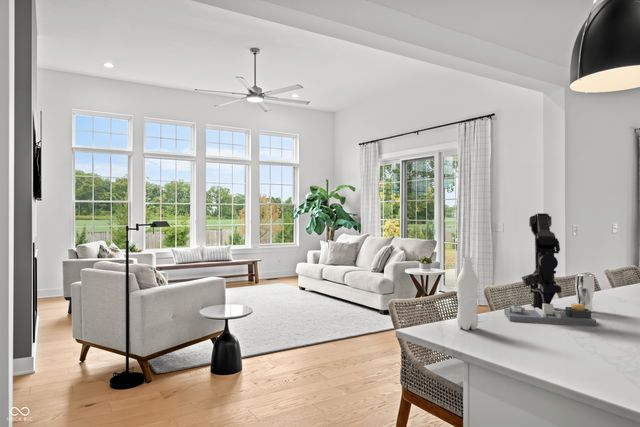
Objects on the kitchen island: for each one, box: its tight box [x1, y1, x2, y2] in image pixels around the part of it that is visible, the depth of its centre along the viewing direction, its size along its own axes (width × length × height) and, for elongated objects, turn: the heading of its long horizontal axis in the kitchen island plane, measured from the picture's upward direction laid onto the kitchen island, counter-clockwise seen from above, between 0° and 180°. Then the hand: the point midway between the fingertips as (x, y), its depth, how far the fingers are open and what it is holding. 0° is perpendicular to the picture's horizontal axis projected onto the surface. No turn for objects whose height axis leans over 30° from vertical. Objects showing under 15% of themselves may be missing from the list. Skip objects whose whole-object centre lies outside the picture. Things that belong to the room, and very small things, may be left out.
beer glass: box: [574, 273, 596, 313], centre depth 182 cm, size 7×7×15 cm
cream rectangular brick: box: [542, 303, 554, 315], centre depth 167 cm, size 2×3×4 cm
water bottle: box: [456, 257, 479, 331], centre depth 154 cm, size 7×7×25 cm
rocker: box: [510, 305, 523, 309], centre depth 170 cm, size 5×3×1 cm, turn 166°
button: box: [570, 302, 585, 311], centre depth 164 cm, size 4×4×2 cm
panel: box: [503, 306, 597, 327], centre depth 167 cm, size 13×29×4 cm, turn 76°
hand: (546, 307), depth 169 cm, fingers closed
